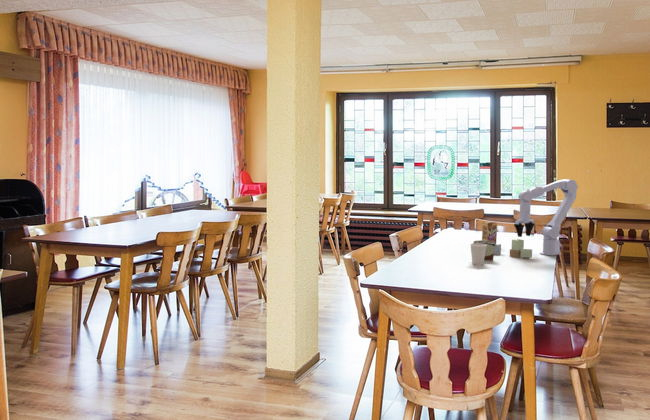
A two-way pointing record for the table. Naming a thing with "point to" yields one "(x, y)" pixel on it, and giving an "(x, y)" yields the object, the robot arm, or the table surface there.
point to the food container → (488, 249)
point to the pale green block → (526, 253)
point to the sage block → (517, 244)
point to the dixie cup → (478, 253)
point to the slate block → (497, 249)
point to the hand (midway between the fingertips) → (523, 236)
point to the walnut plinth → (515, 253)
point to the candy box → (489, 231)
